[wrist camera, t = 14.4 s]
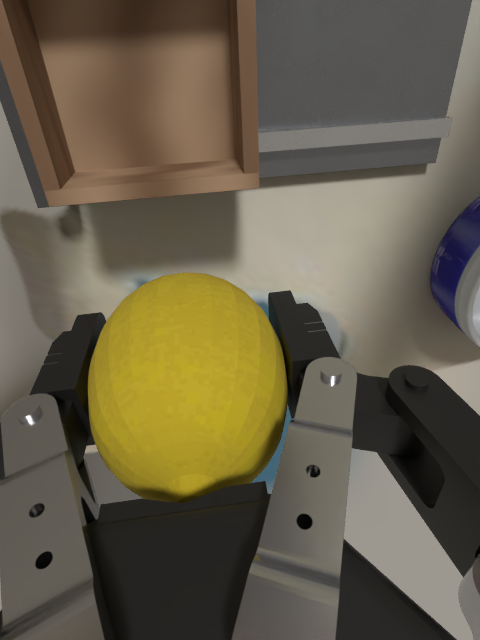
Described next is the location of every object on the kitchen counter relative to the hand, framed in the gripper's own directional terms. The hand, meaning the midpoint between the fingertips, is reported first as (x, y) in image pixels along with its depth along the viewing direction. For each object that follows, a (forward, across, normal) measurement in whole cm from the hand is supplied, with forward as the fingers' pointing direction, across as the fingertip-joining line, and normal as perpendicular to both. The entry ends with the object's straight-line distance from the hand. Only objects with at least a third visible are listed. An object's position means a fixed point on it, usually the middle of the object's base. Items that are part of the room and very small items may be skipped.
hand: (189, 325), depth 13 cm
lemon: (+2, 0, 0) cm, 2 cm away
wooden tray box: (+16, +1, -7) cm, 18 cm away
